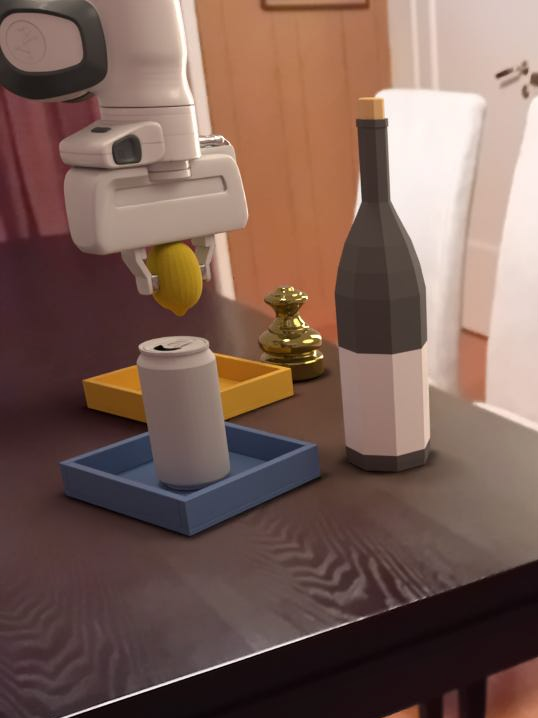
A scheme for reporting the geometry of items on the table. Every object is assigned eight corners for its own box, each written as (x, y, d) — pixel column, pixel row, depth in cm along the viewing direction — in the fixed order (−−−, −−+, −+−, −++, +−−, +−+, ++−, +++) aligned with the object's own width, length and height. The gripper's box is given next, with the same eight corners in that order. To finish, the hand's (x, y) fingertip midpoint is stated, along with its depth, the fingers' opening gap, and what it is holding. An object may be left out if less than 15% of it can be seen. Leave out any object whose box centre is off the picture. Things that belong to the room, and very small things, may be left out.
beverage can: (142, 486, 88) (116, 347, 82) (190, 462, 93) (169, 330, 87) (200, 498, 86) (178, 356, 80) (246, 473, 91) (229, 338, 85)
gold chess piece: (288, 362, 124) (280, 277, 119) (337, 370, 121) (330, 284, 116) (248, 377, 119) (237, 289, 114) (298, 386, 115) (289, 296, 110)
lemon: (217, 316, 106) (206, 235, 102) (171, 325, 103) (158, 242, 99) (188, 308, 110) (177, 229, 105) (143, 316, 106) (129, 236, 102)
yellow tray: (87, 407, 109) (81, 380, 107) (196, 373, 120) (192, 348, 119) (187, 433, 101) (182, 404, 100) (293, 395, 113) (291, 368, 111)
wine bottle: (401, 478, 91) (384, 101, 75) (329, 463, 94) (298, 99, 79) (447, 451, 97) (440, 97, 81) (377, 437, 100) (358, 95, 85)
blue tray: (65, 495, 88) (58, 462, 86) (200, 444, 99) (196, 414, 97) (190, 536, 80) (184, 501, 79) (320, 476, 91) (318, 444, 90)
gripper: (209, 131, 107) (227, 268, 114) (42, 145, 92) (74, 302, 99) (252, 133, 104) (268, 274, 111) (87, 148, 89) (116, 309, 96)
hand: (175, 287), depth 105 cm, fingers closed on lemon, 5 cm apart
